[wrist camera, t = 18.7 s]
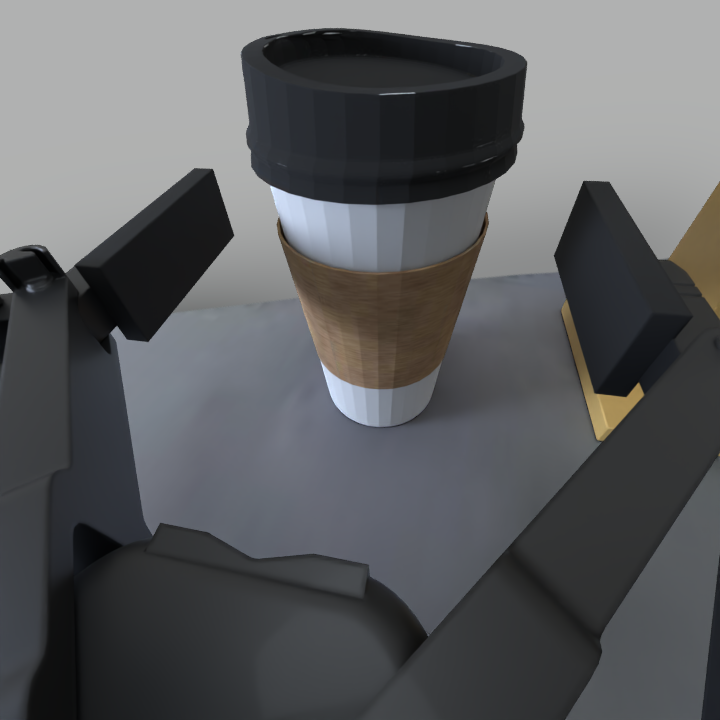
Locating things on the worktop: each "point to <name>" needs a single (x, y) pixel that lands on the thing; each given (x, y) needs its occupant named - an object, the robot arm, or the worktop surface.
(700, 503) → the worktop surface
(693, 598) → the worktop surface
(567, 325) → the lever stand
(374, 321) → the coffee cup
